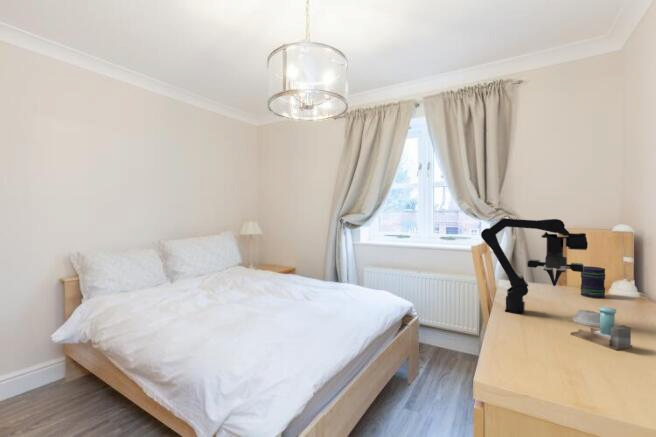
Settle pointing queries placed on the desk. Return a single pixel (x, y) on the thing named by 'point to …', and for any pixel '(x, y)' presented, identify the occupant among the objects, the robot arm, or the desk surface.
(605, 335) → the knob
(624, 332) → the mount
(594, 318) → the mechanical component
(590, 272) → the storage jar
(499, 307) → the desk surface
